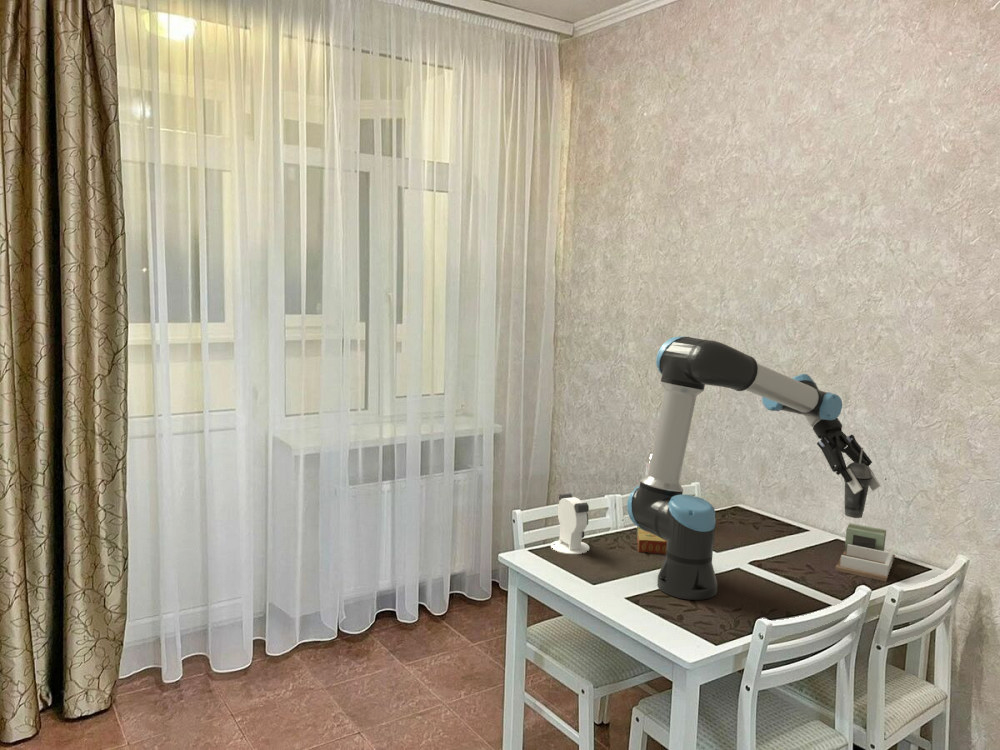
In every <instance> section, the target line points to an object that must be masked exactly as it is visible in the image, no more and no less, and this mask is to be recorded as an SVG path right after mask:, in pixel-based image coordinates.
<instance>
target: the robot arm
mask: <svg viewBox="0 0 1000 750" xmlns="http://www.w3.org/2000/svg"><path fill="white" fill-rule="evenodd" d="M655 359H656V360H655V363H656V364H655V365H656V368H657V370H658V372H659V373H660V375H661V377H660V384H661V385H662V387H663V390H664V392H663V397H662V401H661V405H660V406H661V407H660V412H659V416H658V421H657V425H656V426H657V427H656V431H655V435H654V441H653V446H652V450H651V452H652V455H651V460H650V465H649V470H648V475H647V476H646V477H645V476H644V477H643V478H641V479H640V481H639V485H637V486H635V488H634V489H633V491H631V492H630V494H629V496H628V497H627V501H626V503H627V505H626V509H627V514H628V517H629V519H630V520H631V522H632V523H633V524H634V525H635V526H636V527H637V526H638V527H640V528H641V529H642V530H644V531H646V532H650V533H652V534H654V535H656V536H658V537H660V538H662V539H664V540H666V541H667V548H666V554H665V559H664V560H663V563H662V565H661V568H660V570H659V572H658V574H657V575H658V576H657V585H656V586H657V588H658V589H659V590H661V592H662V593H664V594H666V595H668V596H671V597H674V598H679V599H683V600H693V601H694V600H695V601H696V600H697V601H698V600H699V601H700V600H701V601H702V600H707V599H711V598H714V597H715V596H716V595H717V592H718V581H717V577H716V573H715V569H714V565H713V554H714V553H713V552H714V543H715V531H716V530H715V529H716V525H717V524H716V523H717V521H716V510H715V508H714V507H715V506H714V505H712V503H710V502H709V501H708V500H707V499H706V500H705V499H704V498H701V497H699V496H693V495H691V494H683V492H684V488H683V487H682V485H681V483H680V479H681V474H682V470H683V464H684V460H685V454H686V451H687V450H686V449H687V445H688V441H689V435H690V430H691V425H692V421H693V417H694V411H695V405H696V400H697V396H698V395H700V394H701V393H703V392H704V390H705V385H706V386H713V387H715V386H716V387H719V388H720V387H722V388H727V389H731V390H734V391H736V392H744V391H747V392H748V393H752V394H755V395H757V396H760V397H762V398H761V400H762V404H763V405H764V407H765V409H767V410H768V411H771V412H780V411H785V412H789V413H793V414H798V415H803V416H805V418H806V420H807V422H808V424H809V425H810V427H812V430H813V432H814V434H815V435H816V437H817V438H818V439H819V441H817V443H816V445H817V446H818V447H819V449H821V451H822V453H823V456H824V458H825V459H826V461H827V463H828V465H829V467H830V469H831V470H832V472H833V473H835V474H836V475H837V476H839V475H841V476H842V478H843V479H844V480H845V481H846V482H847V483H848V485H849V487H850V488H851V490H852V491H853V493H854V494H856V493H858V492H859V491H861V490H862V487H861V485H860V484H859V482H858V481H857V479H856V478H855V476H854V474H853V473H852V471H851V470H850V469H847V464H846V461H845V458H844V456H843V454H846V455H847V457H849V458H850V459H851V461H852V463H853V462H859V460H860V453H861V448H862V446H860V444H859V442H857V439H856V438H855V435H854V434H850V435H846V433H844V432H843V429H842V428H843V424H842V422H841V420H840V419H839V418H838V417H839V416H840V414H841V412H842V410H843V401H842V398H841V396H839V395H838V394H835V393H832V392H830V391H828V392H827V391H823V390H820V389H819V388H818V386H817V383H816V382H815V381H814V379H812V378H811V376H810V375H809V374H807V373H800V374H799V375H796V376H793V377H792V378H791V377H790V376H787V375H785V374H782V373H781V372H778V371H776V370H773V369H771V368H769V367H767V366H764V365H762V364H759V363H758V361H757V359H755V357H752V356H751V355H748V354H747V353H744V352H742V351H740V350H738V349H736V348H733V347H731V346H729V345H728V344H725V343H723V342H720V341H716V340H711V339H703V338H698V337H697V338H696V337H691V336H685V335H684V336H674V337H671V338H669V339H667V340H666V341H665V342H663V344H662V345H661V346H660V348H659V350H658V352H657V354H656V358H655ZM850 459H849V460H850ZM861 462H862V463H864V464H866V465H867V466H868V467H869V469H870V471H871V477H872V479H871V482H870V485H869V489H871V491H872V492H873V491H876V490H877V489H879V488H880V487H881V484H880V482H879V481H878V479H877V477H876V476H875V474H874V472H873V470H872V469H871V468H870V465H872V463H873V461H872V460H871V459H870V457H869V456H868V454H867V453H866V452H865V450H863V453H862V459H861ZM846 469H847V470H846Z"/></svg>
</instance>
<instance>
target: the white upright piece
mask: <svg viewBox="0 0 1000 750" xmlns="http://www.w3.org/2000/svg"><path fill="white" fill-rule="evenodd" d="M558 500H559V502H558V507H557V517H558V522H559V539H558V540H555V541H553V542H552V543H550V548H551V549H552V548H553V549H552V550H553V551H554V550H555V551H554V552H556V551H557V553H560V554H563V555H564V554H565V555H583V554H587V553H588V552H589V551H590V546H589V544H587V543H586V542H583V541H582V540H583V539H584V537H585V530H586V528H587V526H588V525H589V514H588V513H589V510H590V507H589V503H588V502H583V501H582V500H581V499H579V498H577V497H576V496H573V495H572V493H561V494H560V493H559V495H558ZM552 544H555V545H552ZM587 551H588V552H587ZM582 553H583V554H582Z"/></svg>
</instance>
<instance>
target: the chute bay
mask: <svg viewBox="0 0 1000 750" xmlns="http://www.w3.org/2000/svg"><path fill="white" fill-rule="evenodd" d="M846 555H850V556H855V557H860V558H864V559H869V560H874V561H879V562H884V563H885V564H883V563H878V562H873V561H868V560H864V559H859V558H854V557H849V556H844V555H842V554H841V556H840V558H841V562H840V566H841V567H846V568H851V569H855V570H860V571H865V572H869V573H874V574H879V575H883V576H888V573H889V570H890V568H891V569H892V567H891V565H892V560H893V555H894V552H889V551H885V550H884V551H881V550H875V549H870V548H865V547H860V546H855V545H850V544H848V545H847V554H846ZM892 566H893V565H892ZM890 571H891V570H890ZM889 574H890V573H889ZM888 577H889V576H888Z"/></svg>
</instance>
